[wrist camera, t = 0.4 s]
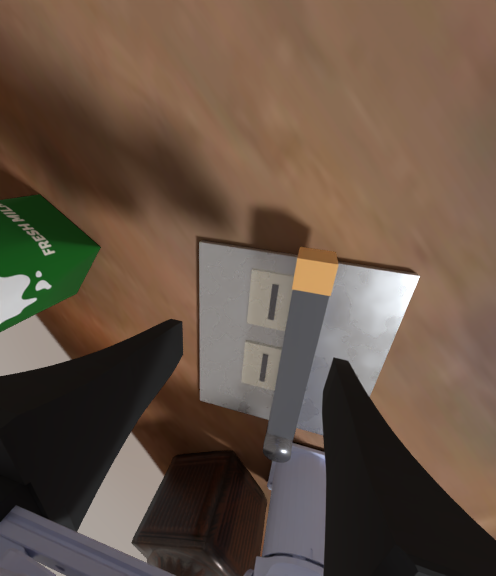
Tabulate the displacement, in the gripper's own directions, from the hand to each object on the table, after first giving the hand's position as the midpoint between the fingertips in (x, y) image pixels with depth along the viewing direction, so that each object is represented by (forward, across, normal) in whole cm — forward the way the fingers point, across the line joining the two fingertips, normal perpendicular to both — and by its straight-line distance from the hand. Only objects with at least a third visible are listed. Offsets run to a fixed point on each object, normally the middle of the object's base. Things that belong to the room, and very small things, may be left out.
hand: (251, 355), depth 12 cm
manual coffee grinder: (+10, +2, +33) cm, 35 cm away
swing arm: (+8, -2, +4) cm, 9 cm away
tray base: (+10, -1, +7) cm, 12 cm away
